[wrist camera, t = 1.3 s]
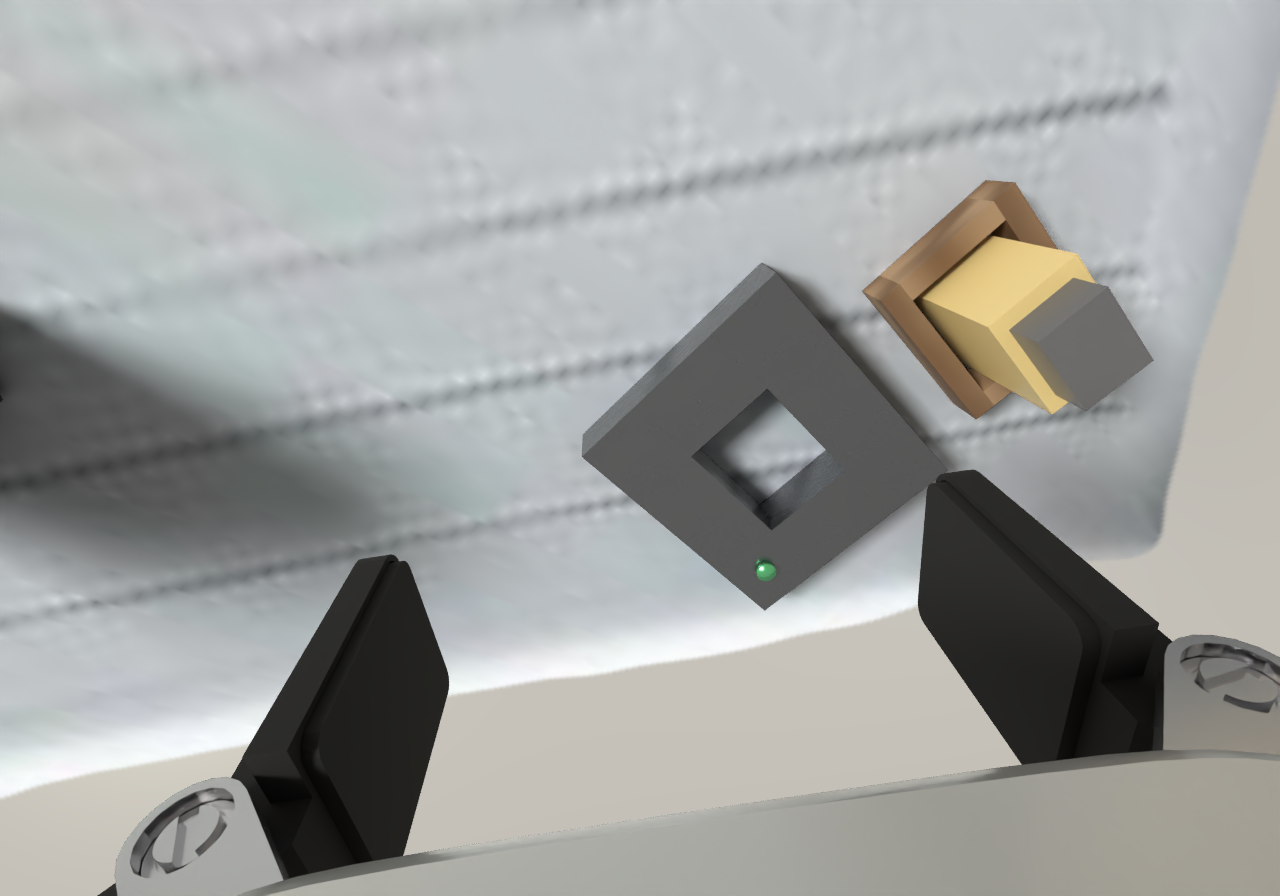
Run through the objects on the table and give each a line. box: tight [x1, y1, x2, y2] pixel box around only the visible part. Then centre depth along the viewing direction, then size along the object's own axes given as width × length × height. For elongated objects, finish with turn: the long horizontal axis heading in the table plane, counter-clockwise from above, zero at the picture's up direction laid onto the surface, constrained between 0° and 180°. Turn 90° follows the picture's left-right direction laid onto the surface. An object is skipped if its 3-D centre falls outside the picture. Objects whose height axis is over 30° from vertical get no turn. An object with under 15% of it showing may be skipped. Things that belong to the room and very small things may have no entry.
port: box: [582, 263, 947, 610], centre depth 36 cm, size 14×16×3 cm
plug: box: [914, 235, 1154, 414], centre depth 30 cm, size 4×6×10 cm
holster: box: [862, 180, 1058, 419], centre depth 34 cm, size 8×10×2 cm
